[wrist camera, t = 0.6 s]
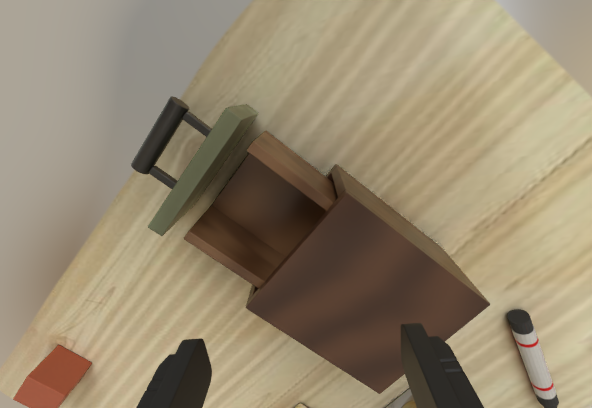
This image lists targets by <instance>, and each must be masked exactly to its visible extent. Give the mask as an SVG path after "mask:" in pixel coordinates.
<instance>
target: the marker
mask: <svg viewBox="0 0 592 408" xmlns="http://www.w3.org/2000/svg"><path fill="white" fill-rule="evenodd" d="M507 317H508V320H509V323H510V325H511V329H512V332H513V335H514V338H515V340H516V343H517V346H518V348H519V351H520V354H521V357H522V359H523V362H524V365H525V367H526V370H527V373H528V375H529V378H530V381H531V384H532V386H533V389H534V392H535V393H536V396H537V399H538V401H539V402H540V404H542V405H543V406H544V408H557V405H558V403H559V401H558V398H557V395H556V391H555V388H554V385H553V382H552V379H551V376H550V373H549V370H548V367H547V364H546V361H545V358H544V355H543V352H542V349H541V346H540V343H539V340H538V338H537V335H536V332H535V329H534V326H533V324H532V321H531V318H530V316H529V314H528V313H527V312H526V311H524V310H512V311H510V312H509V313H508V315H507Z"/></svg>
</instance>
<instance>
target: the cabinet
mask: <svg viewBox="0 0 592 408" xmlns="http://www.w3.org/2000/svg"><path fill="white" fill-rule="evenodd" d="M326 177H327V178H328V179H329V180H330V181H332V182H333V183H334V184H335V188H336V192H337V195H338V199H337V200H336V201H335V202H334V203H333V204H332V205H331V207H330V208H329V209H328V210H327V211H326V212H325V213H324V215H323V216H322V217H321V218H320V219H319V220H318V221H317V223H316V224H315V225H314V226H313V227H312V228H311V229H310V231H309V232H308V233H307V234H306V235H305V236H304V237H303V239H302V240H301V241H300V242H299V243H298V244H297V245H296V247H295V248H294V249H293V250H292V251H291V252H290V253H289V255H288V256H287V257H286V258H285V259H284V260H283V261H282V262H281V264H280V265H279V266H278V267H277V268H276V269H275V270H274V272H273V273H272V274H271V275H270V276H269V277H268V278H267V280H266V281H265V282H264V283H263V284H262V285H261V286H260V288H257V287H256V286H254V285H253V284H252V288H251V291H250V294H249V298H248V301H247V305H246V308H247V309H248V310H250V311H251V312H253V313H254V314H256V315H258V316H259V317H261V318H262V319H264V320H265V321H267V322H268V323H270V324H272V325H273V326H275V327H276V328H278V329H279V330H281V331H282V332H284V333H286V334H287V335H289V336H290V337H292V338H293V339H295V340H296V341H298V342H300V343H301V344H303V345H304V346H306V347H307V348H309V349H310V350H312V351H314V352H315V353H317V354H318V355H320V356H321V357H323V358H324V359H326V360H328V361H329V362H331V363H332V364H334V365H335V366H337V367H338V368H340V369H342V370H343V371H345V372H346V373H348V374H349V375H351V376H353V377H354V378H356V379H357V380H359V381H360V382H362V383H363V384H365V385H367V386H368V387H370V388H371V389H373V390H374V391H376V392H377V393H379V394H380V393H381V392H383V391H384V390H385V389H386V388H388V387H389V386H390V385H391V384H393V383H394V382H395V381H396V380H398V379H399V378H400V377H401V376H403V375H404V374H405V372H404V369H403V365H402V360H401V324H410V323H421V324H422V325H423V327H424V329H425V331H426V333H427V335H428V337H432V336H439V337H440V338H441V339H442V340H443V341H444V342H445V341H446V340H447V339H448V338H450V337H451V336H452V335H453V334H455V333H456V332H457V331H458V330H460V329H461V328H462V327H463V326H465V325H466V324H467V323H468V322H469V321H471V320H472V319H473V318H474V317H476V316H477V315H478V314H479V313H481V312H482V311H483V310H484V309H486V308H487V307H488V306H489V305H490V303H489V302H488V301H487V300H486V298H485V297H484V296H483V295H482V294H481V293H480V291H479V290H478V289H477V288H476V287H475V286H474V284H473V283H472V282H471V281H470V280H469V279H468V277H467V276H466V275H465V274H464V273H463V272H462V271H461V269H460V268H459V267H458V266H457V265H456V264H455V262H454V261H453V260H452V259H451V258H450V257H449V255H448V254H447V253H446V252H445V251H444V250H443V249H442V248H441V247H440V246H439V245H438V244H436V243H435V242H434V241H433V240H431V239H430V238H429V237H428V236H426V235H425V234H424V233H423V232H421V231H420V230H419V229H417V228H416V227H415V226H414V225H412V224H411V223H410V222H409V221H407V220H406V219H405V218H404V217H402V216H401V215H400V214H399V213H397V212H396V211H395V210H394V209H392V208H391V207H390V206H389V205H387V204H386V203H385V202H383V201H382V200H381V199H380V198H378V197H377V196H376V195H375V194H373V193H372V192H371V191H370V190H368V189H367V188H366V187H365V186H363V185H362V184H361V183H360V182H358V181H357V180H356V179H354V178H353V177H352V176H351V175H349V174H348V173H347V172H346V171H344V170H343V169H342V168H341V167H339V166H338V165H337V164H336V165H335V166H334V167H333V168H332V169H331V171H330V172H329V173H328V174H327V175H326Z"/></svg>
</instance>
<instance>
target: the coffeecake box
mask: <svg viewBox="0 0 592 408" xmlns="http://www.w3.org/2000/svg"><path fill="white" fill-rule="evenodd" d="M295 408H308V407H306V406H304V405H303V404H301V403H300V404H298V405H297V406H296V407H295Z"/></svg>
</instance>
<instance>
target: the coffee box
mask: <svg viewBox="0 0 592 408" xmlns="http://www.w3.org/2000/svg"><path fill="white" fill-rule="evenodd" d="M386 408H417V407H416V404H415V401H414V398H413V395H412V393H411V390H410V389H409V390H407V391H406V392H405V393H403V394H402V395H401V396H400V397H398V398H397V399H396V400H395V401H393V402H392V403H391V404H390V405H388V406H387V407H386Z"/></svg>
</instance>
